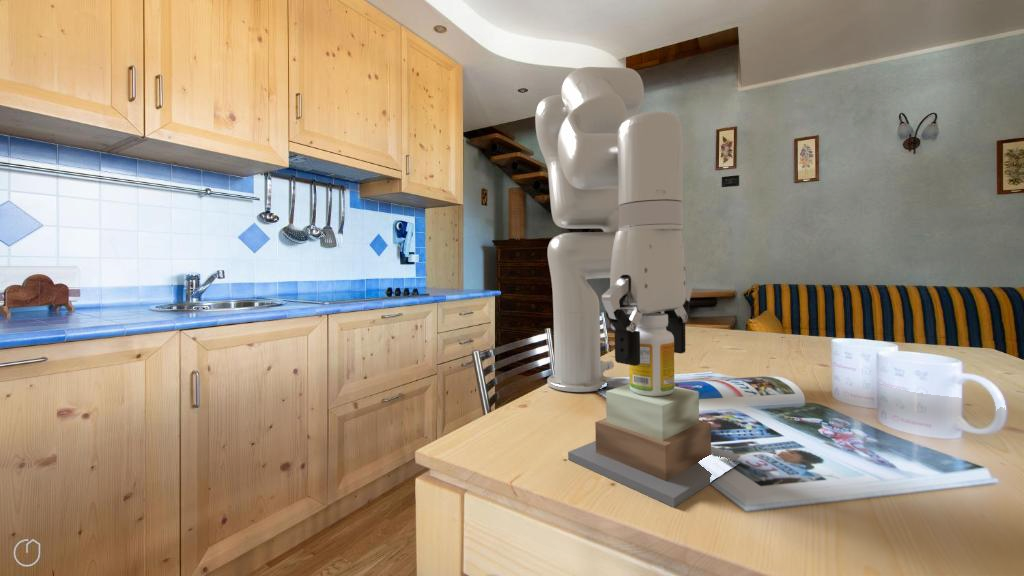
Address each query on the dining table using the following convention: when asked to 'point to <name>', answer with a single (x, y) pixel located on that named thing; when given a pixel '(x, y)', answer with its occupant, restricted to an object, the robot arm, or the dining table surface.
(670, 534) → the dining table surface
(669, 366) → the supplement bottle
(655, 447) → the two-tone block stack
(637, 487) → the baseplate
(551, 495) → the dining table surface
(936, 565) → the dining table surface
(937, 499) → the dining table surface
